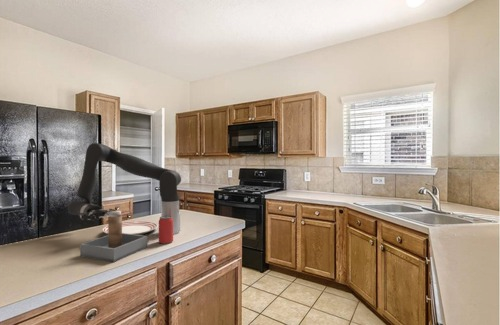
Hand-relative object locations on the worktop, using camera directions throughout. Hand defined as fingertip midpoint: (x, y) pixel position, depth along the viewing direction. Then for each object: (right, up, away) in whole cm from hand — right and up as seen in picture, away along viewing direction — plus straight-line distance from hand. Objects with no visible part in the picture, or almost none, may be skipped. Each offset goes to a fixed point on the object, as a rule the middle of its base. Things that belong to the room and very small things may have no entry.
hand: (104, 216), depth 118 cm
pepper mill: (+8, -13, -7) cm, 17 cm away
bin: (+9, -14, -7) cm, 18 cm away
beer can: (+26, -14, +6) cm, 30 cm away
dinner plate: (+2, -14, +23) cm, 27 cm away
